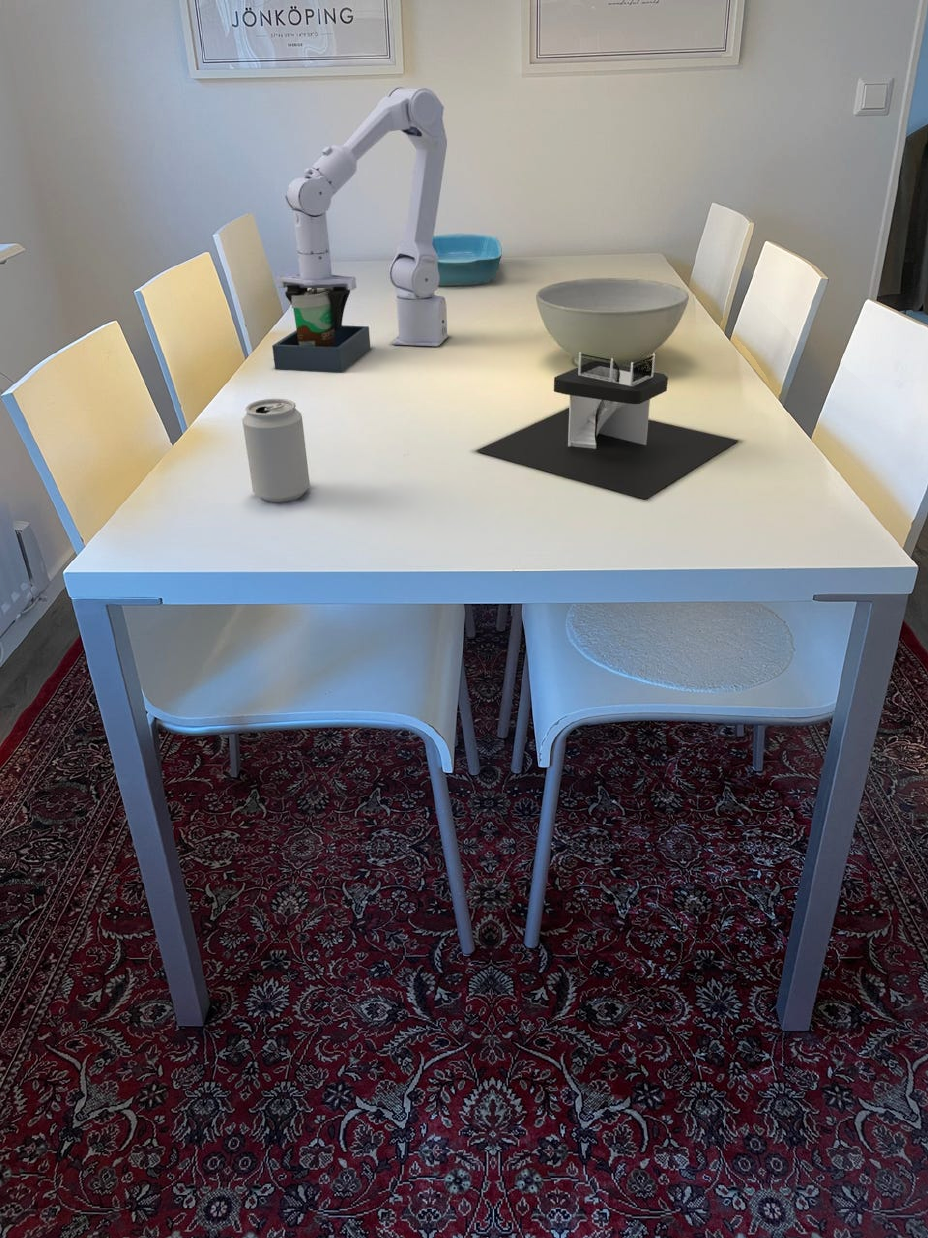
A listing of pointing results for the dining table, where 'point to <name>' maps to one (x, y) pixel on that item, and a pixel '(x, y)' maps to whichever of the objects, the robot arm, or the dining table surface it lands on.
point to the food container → (314, 318)
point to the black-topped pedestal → (610, 432)
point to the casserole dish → (466, 258)
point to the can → (276, 450)
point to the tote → (323, 351)
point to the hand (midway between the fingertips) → (321, 328)
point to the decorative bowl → (611, 316)
